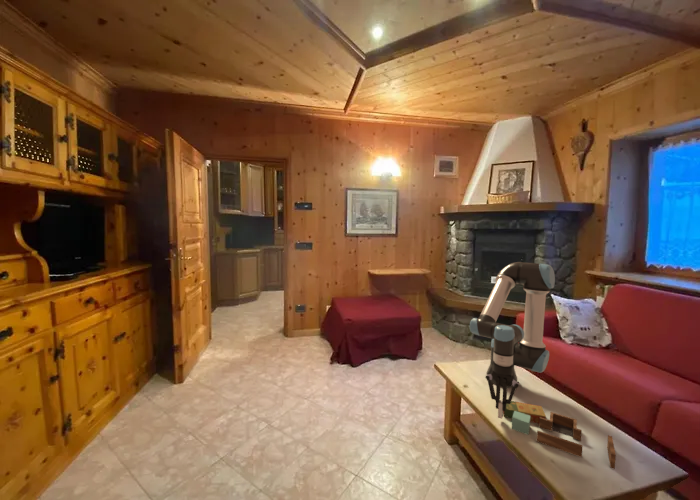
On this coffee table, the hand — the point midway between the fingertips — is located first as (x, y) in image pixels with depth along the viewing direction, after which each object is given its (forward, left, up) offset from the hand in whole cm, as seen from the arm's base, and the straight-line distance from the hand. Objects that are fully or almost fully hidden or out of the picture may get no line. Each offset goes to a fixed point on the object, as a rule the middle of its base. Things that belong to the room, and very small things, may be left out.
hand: (500, 416), depth 132 cm
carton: (-10, +7, -3) cm, 13 cm away
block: (0, +8, -2) cm, 8 cm away
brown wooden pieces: (-3, +25, -2) cm, 26 cm away
